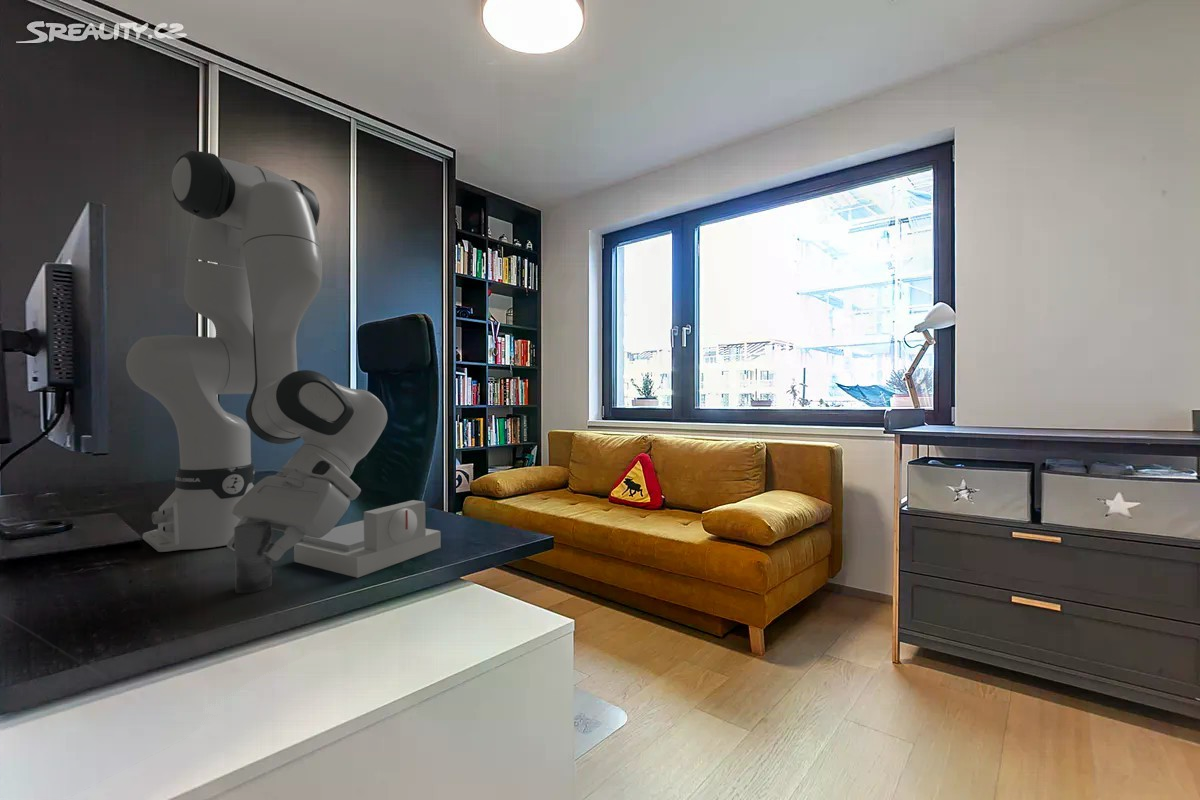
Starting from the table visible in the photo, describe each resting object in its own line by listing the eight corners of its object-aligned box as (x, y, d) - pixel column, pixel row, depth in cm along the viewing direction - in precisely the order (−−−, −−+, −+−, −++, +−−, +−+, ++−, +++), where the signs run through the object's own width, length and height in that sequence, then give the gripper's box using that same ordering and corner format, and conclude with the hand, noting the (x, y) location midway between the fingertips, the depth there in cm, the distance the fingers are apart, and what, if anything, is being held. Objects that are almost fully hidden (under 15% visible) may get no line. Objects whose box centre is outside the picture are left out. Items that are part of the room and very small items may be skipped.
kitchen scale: (294, 561, 86) (293, 507, 86) (380, 536, 101) (379, 490, 101) (359, 578, 78) (359, 519, 78) (442, 547, 93) (442, 498, 93)
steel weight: (229, 590, 74) (227, 527, 74) (261, 580, 78) (260, 520, 78) (246, 595, 72) (244, 531, 72) (278, 585, 76) (277, 524, 76)
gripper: (262, 459, 86) (195, 532, 77) (342, 467, 76) (275, 552, 68) (289, 482, 90) (228, 554, 81) (368, 492, 80) (308, 575, 72)
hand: (250, 553), depth 74 cm, fingers open, 8 cm apart
